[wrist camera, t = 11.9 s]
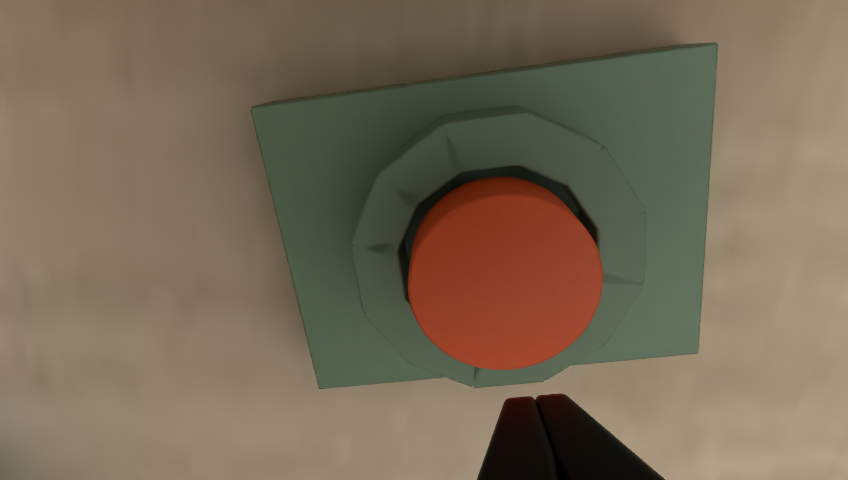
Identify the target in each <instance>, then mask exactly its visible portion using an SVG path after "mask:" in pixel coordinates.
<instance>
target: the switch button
mask: <svg viewBox="0 0 848 480" xmlns="http://www.w3.org/2000/svg"><path fill="white" fill-rule="evenodd" d="M602 286H603V270H602V263H601V258H600V254H599V251H598V249H597V246H596V244H595V242H594V240H593V238H592V237H591V235H590V233H589V232H588V231H587V229H586V228H585V227H584V226H583V224H582V223H581V222H580V221H579V220H578V218H577V217H576V216H575V215H574V214H573V213H572V211H571V210H570V209H569V208H568V207H567V206H566V205H565V203H564V202H563V201H562V200H560V199H559V198H558V197H557V196H556V195H555V194H553V193H552V192H551V191H549V190H548V189H546V188H544V187H542V186H540V185H538V184H536V183H533V182H531V181H528V180H525V179H520V178H515V177H503V176H500V177H488V178H482V179H477V180H474V181H471V182H468V183H465V184H463V185H461V186H459V187H457V188H455V189H453V190H452V191H450V192H449V193H447V194H446V195H444V196H443V197H442V198H441V199H440V200H438V201H437V202H436V203H435V204H434V205H433V206H432V208H431V209H430V210H429V211H428V212H427V214H426V215H425V217H424V218H423V220H422V222H421V224H420V226H419V227H418V230H417V232H416V235H415V238H414V242H413V247H412V253H411V260H410V267H409V274H408V295H409V301H410V305H411V309H412V311H413V314H414V317H415V319H416V321H417V323H418V324H419V326H420V328H421V329H422V331H423V332H424V333H425V335H426V336H427V337H428V338H429V339H430V340H431V341H432V342H433V343H434V344H435V345H436V346H437V347H438V348H439V349H441V350H442V351H443V352H444V353H446V354H448V355H449V356H451V357H453V358H454V359H456V360H459V361H461V362H463V363H465V364H468V365H472V366H475V367H479V368H485V369H493V370H512V369H519V368H525V367H528V366H532V365H536V364H538V363H541V362H543V361H546V360H548V359H550V358H552V357H554V356H556V355H557V354H559V353H560V352H562V351H563V350H565V349H566V348H568V347H569V346H570V345H571V344H572V343H573V342H574V341H576V340H577V338H578V337H579V336H580V335H581V334H582V333H583V332H584V330H585V329H586V328H587V326H588V325H589V323H590V322H591V320H592V318H593V316H594V314H595V312H596V310H597V307H598V304H599V301H600V297H601V292H602Z"/></svg>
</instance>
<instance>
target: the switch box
mask: <svg viewBox="0 0 848 480" xmlns="http://www.w3.org/2000/svg"><path fill="white" fill-rule="evenodd" d="M717 53H718V44H717V43H699V44H684V45H677V46H669V47H662V48H655V49H648V50H641V51H634V52H626V53H619V54H612V55H605V56H598V57H590V58H583V59H576V60H569V61H562V62H554V63H547V64H540V65H533V66H526V67H518V68H511V69H504V70H497V71H490V72H482V73H475V74H468V75H461V76H454V77H446V78H439V79H432V80H425V81H418V82H410V83H403V84H396V85H389V86H382V87H374V88H367V89H360V90H353V91H346V92H338V93H331V94H324V95H317V96H310V97H302V98H295V99H288V100H281V101H274V102H269V103H265V104H261V105H257V106H253V107H251V113H252V117H253V122H254V126H255V130H256V134H257V138H258V142H259V146H260V150H261V154H262V158H263V162H264V166H265V170H266V174H267V179H268V183H269V187H270V191H271V195H272V199H273V203H274V207H275V211H276V215H277V219H278V223H279V227H280V232H281V236H282V240H283V244H284V248H285V252H286V256H287V260H288V264H289V268H290V272H291V276H292V280H293V284H294V289H295V293H296V297H297V301H298V305H299V309H300V313H301V317H302V321H303V325H304V329H305V333H306V337H307V341H308V346H309V350H310V354H311V358H312V362H313V366H314V370H315V374H316V378H317V382H318V386H319V389H326V388H337V387H348V386H358V385H369V384H380V383H390V382H401V381H411V380H422V379H433V378H443V377H446V378H449V379H452V380H454V381H457V382H460V383H463V384H465V385H468V386H471V387H473V386H474V388H481V387H492V386H503V385H513V384H524V383H535V382H543V381H544V380H547V379H549V378H550V377H552V376H554V375H556V374H557V373H559V372H561V371H562V370H564V369H566V368H568V367H569V366H571V365H582V364H592V363H603V362H613V361H624V360H635V359H645V358H656V357H667V356H677V355H688V354H697V353H698V349H699V333H700V318H701V302H702V286H703V271H704V255H705V240H706V224H707V209H708V193H709V178H710V162H711V146H712V131H713V115H714V100H715V84H716V69H717ZM500 176H503V177H515V178H520V179H525V180H528V181H531V182H533V183H536V184H538V185H540V186H542V187H544V188H546V189H548V190H549V191H551V192H552V193H553V194H555V195H556V196H557V197H558V198H559V199H560V200H562V201H563V202H564V203H565V205H566V206H567V207H568V208H569V209H570V210H571V211H572V213H573V214H574V215H575V216H576V217H577V218H578V220H579V221H580V222H581V223H582V224H583V226H584V227H585V228H586V229H587V231H588V232H589V233H590V235H591V237H592V238H593V240H594V242H595V244H596V246H597V249H598V251H599V254H600V258H601V263H602V270H603V286H602V292H601V297H600V301H599V304H598V307H597V310H596V312H595V314H594V316H593V318H592V320H591V322H590V323H589V325H588V326H587V328H586V329H585V330H584V332H583V333H582V334H581V335H580V336H579V337H578V338H577V340H576V341H574V342H573V343H572V344H571V345H570V346H569V347H568V348H566V349H565V350H563V351H562V352H560V353H559V354H557V355H556V356H554V357H552V358H550V359H548V360H546V361H543V362H541V363H538V364H536V365H532V366H528V367H525V368H519V369H512V370H493V369H485V368H479V367H475V366H472V365H468V364H465V363H463V362H461V361H459V360H456V359H454V358H453V357H451V356H449V355H448V354H446V353H444V352H443V351H442V350H441V349H439V348H438V347H437V346H436V345H435V344H434V343H433V342H432V341H431V340H430V339H429V338H428V337H427V336H426V335H425V333H424V332H423V331H422V329H421V328H420V326H419V324H418V323H417V321H416V319H415V317H414V314H413V311H412V309H411V305H410V301H409V295H408V274H409V267H410V260H411V253H412V247H413V242H414V238H415V235H416V232H417V230H418V227H419V226H420V224H421V222H422V220H423V218H424V217H425V215H426V214H427V212H428V211H429V210H430V209H431V208H432V206H433V205H434V204H435V203H436V202H437V201H438V200H440V199H441V198H442V197H443V196H444V195H446V194H447V193H449V192H450V191H452V190H453V189H455V188H457V187H459V186H461V185H463V184H465V183H468V182H471V181H474V180H477V179H482V178H488V177H500Z"/></svg>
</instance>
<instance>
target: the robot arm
mask: <svg viewBox="0 0 848 480" xmlns="http://www.w3.org/2000/svg"><path fill="white" fill-rule="evenodd" d="M477 480H665V479H664V478H663V477H662V476H660V475H659V474H658V473H657V472H656V471H654V470H653V469H652V468H651V467H650V466H649V465H647V464H646V463H645V462H644V461H643V460H642V459H640V458H639V457H638V456H637V455H636V454H635V453H633V452H632V451H631V450H630V449H629V448H628V447H626V446H625V445H624V444H623V443H622V442H620V441H619V440H618V439H617V438H616V437H615V436H613V435H612V434H611V433H610V432H609V431H608V430H606V429H605V428H604V427H603V426H602V425H601V424H599V423H598V422H597V421H596V420H595V419H594V418H592V417H591V416H590V415H589V414H588V413H587V412H585V411H584V410H583V409H582V408H581V407H579V406H578V405H577V404H576V403H575V402H574V401H572V400H571V399H570V398H569V397H568V396H566V395H564V394H549V395H540V396H538V397H536V400H535V399H534V398H533V397H530V396H528V397H517V398H508V399H506V400H505V402H504V404H503V407H502V410H501V413H500V416H499V418H498V421H497V424H496V427H495V430H494V433H493V435H492V438H491V441H490V444H489V447H488V450H487V452H486V455H485V458H484V461H483V464H482V466H481V469H480V472H479V475H478V478H477Z"/></svg>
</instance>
